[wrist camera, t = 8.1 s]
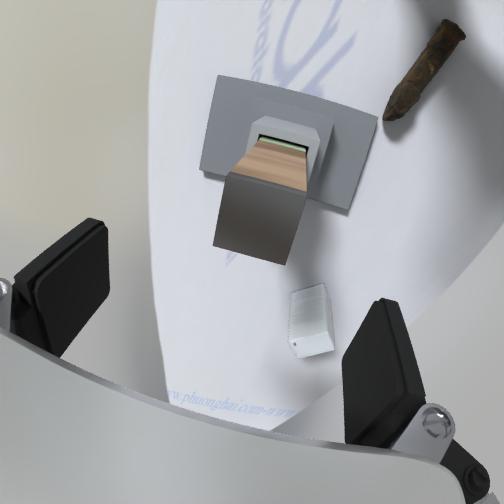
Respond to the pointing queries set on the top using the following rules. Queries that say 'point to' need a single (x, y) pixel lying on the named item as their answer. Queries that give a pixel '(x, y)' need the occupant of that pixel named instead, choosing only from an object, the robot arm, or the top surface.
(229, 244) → the post
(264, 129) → the stand base
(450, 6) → the top surface
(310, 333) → the skincare box
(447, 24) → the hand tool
